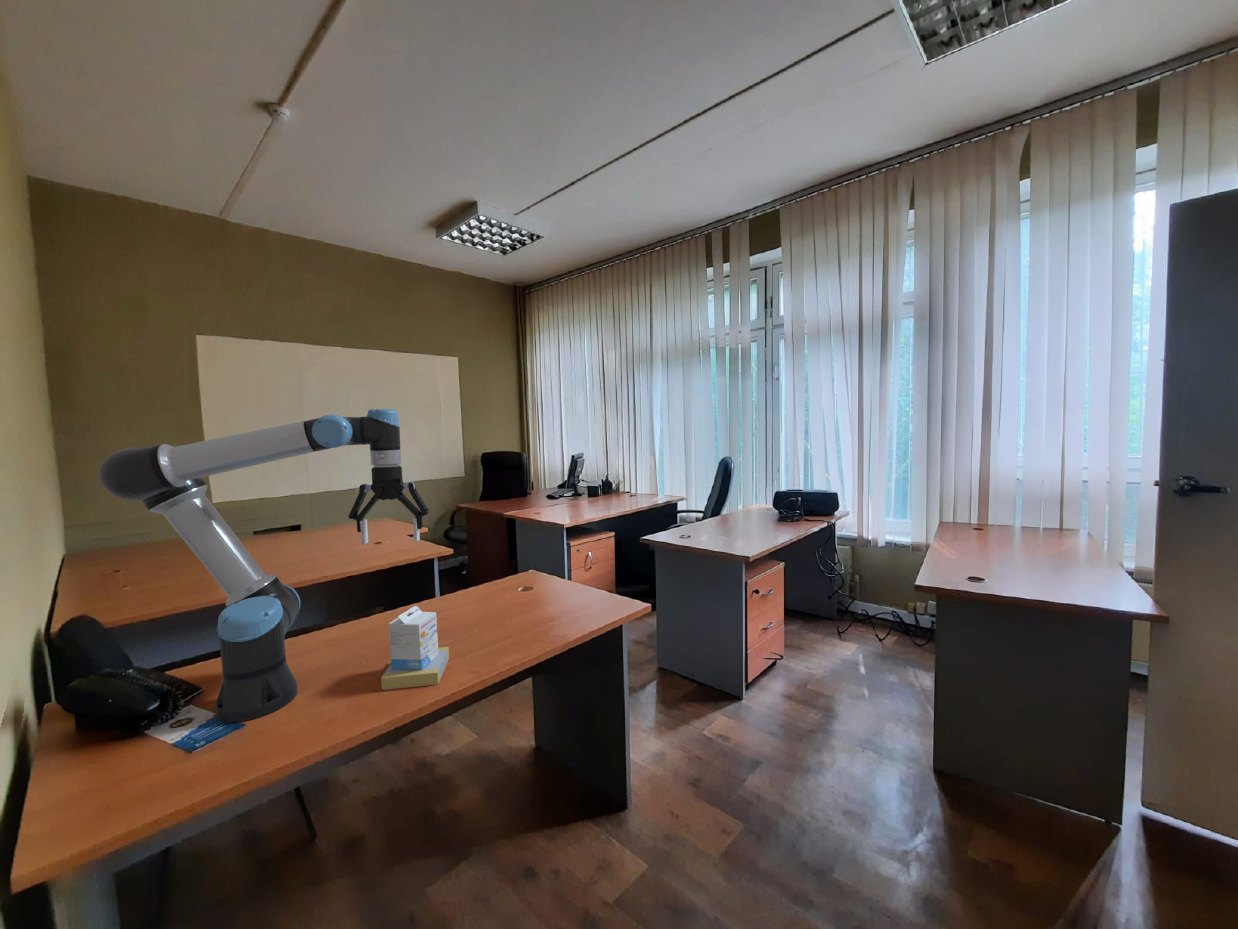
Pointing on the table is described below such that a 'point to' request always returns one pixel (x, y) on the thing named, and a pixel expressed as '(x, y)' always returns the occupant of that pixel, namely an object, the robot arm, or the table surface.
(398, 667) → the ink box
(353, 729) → the table surface
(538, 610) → the table surface
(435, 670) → the dock
